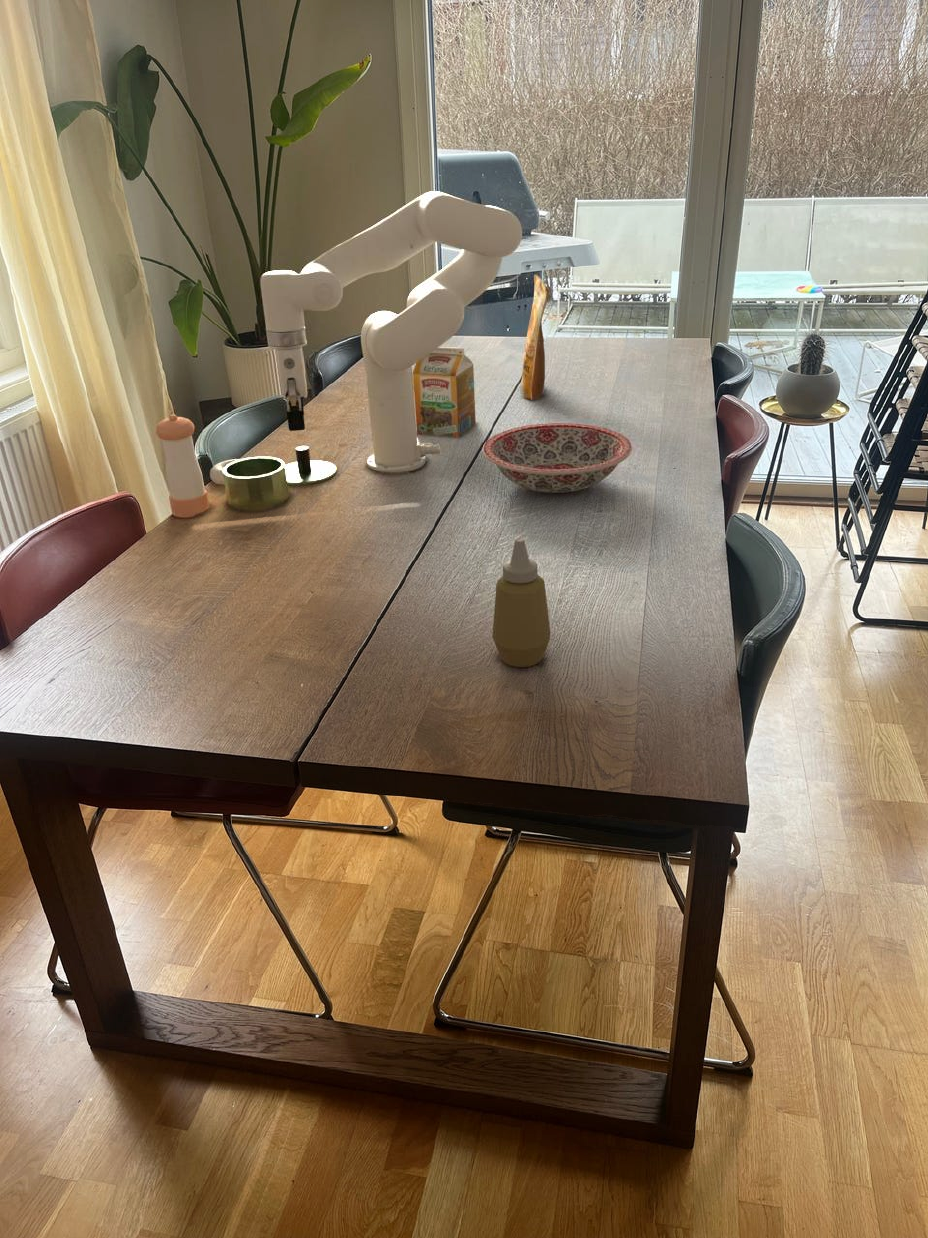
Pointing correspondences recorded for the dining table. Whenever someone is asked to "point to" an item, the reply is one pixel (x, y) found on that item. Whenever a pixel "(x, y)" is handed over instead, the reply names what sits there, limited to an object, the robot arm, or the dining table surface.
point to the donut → (220, 471)
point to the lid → (308, 469)
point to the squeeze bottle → (521, 611)
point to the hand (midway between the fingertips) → (296, 422)
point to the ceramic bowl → (557, 455)
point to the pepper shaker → (182, 467)
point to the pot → (255, 482)
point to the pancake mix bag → (535, 345)
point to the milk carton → (444, 393)
